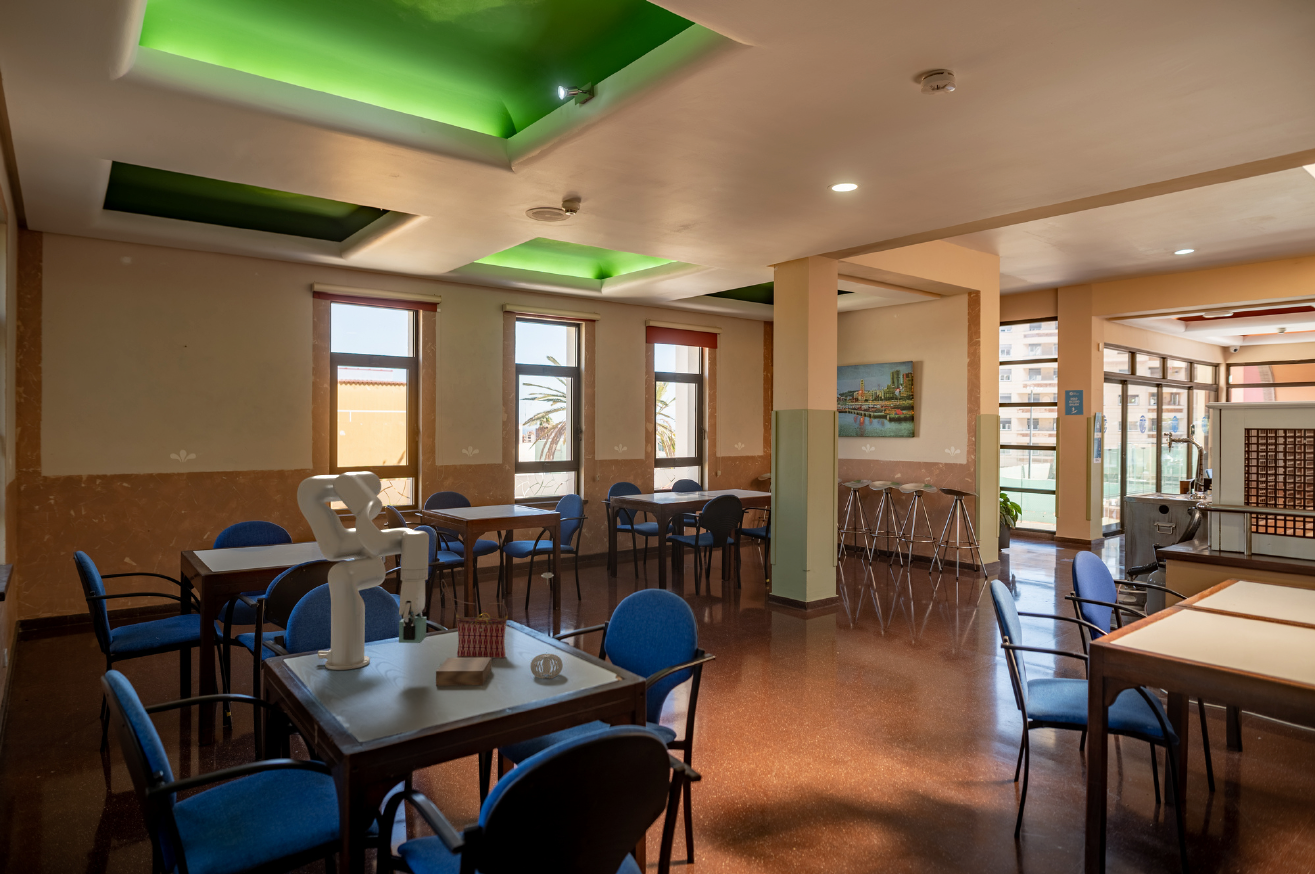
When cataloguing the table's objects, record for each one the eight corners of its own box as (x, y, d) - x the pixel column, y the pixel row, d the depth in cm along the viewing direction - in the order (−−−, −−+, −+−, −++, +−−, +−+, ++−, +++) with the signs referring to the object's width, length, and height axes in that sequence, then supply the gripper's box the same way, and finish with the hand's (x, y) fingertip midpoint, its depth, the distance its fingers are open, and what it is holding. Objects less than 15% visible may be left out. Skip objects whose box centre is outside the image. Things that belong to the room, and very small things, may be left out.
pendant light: (568, 673, 216) (569, 572, 216) (551, 683, 208) (551, 577, 208) (542, 669, 220) (542, 569, 220) (523, 678, 212) (524, 574, 212)
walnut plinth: (435, 685, 205) (436, 671, 205) (447, 671, 218) (447, 657, 218) (482, 684, 206) (482, 670, 206) (491, 670, 219) (491, 657, 219)
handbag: (446, 653, 236) (447, 576, 237) (509, 655, 234) (509, 577, 235) (437, 660, 229) (438, 580, 229) (502, 662, 227) (502, 581, 227)
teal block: (398, 642, 208) (399, 621, 208) (405, 636, 214) (405, 616, 214) (420, 642, 209) (420, 621, 209) (425, 637, 215) (426, 616, 215)
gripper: (410, 568, 220) (408, 628, 220) (391, 579, 203) (389, 644, 203) (435, 568, 220) (433, 628, 220) (419, 580, 203) (417, 645, 203)
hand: (412, 635), depth 212 cm, fingers closed on teal block, 6 cm apart
